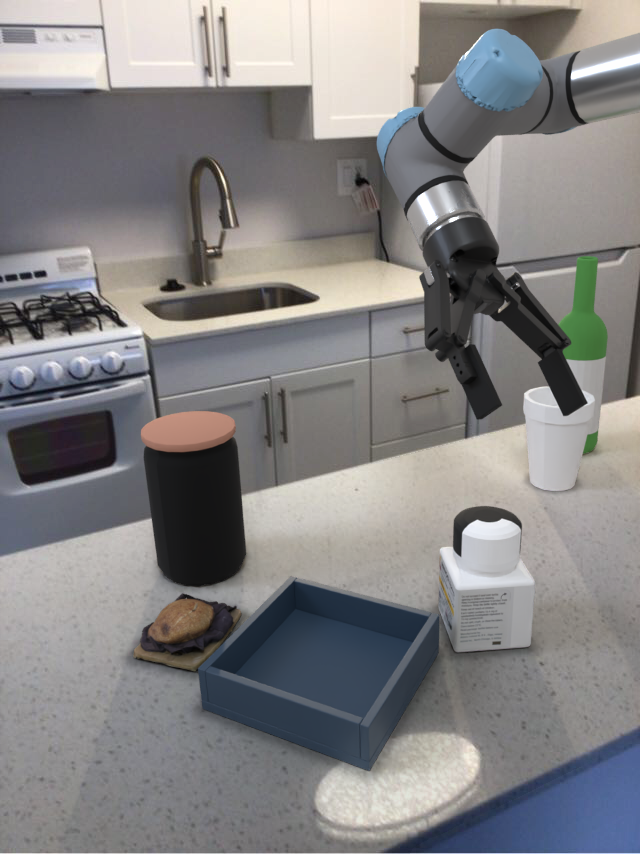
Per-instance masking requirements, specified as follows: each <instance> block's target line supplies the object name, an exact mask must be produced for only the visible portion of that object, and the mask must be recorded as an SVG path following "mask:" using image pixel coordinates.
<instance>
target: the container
mask: <svg viewBox="0 0 640 854" xmlns="http://www.w3.org/2000/svg"><path fill="white" fill-rule="evenodd" d="M521 521H522V520H521V519H519V517H518V516H517V515H516V514H515V513H513V512H511V511H510V510H507V509H504V508H501V507H497V506H490V505H477V506H472V507H468V508H467V507H466V508H464V509H463V510H461V511H460V512H458V513H457V515H455V517H454V518H453V526H452V529H453V531H452V546H442V547H441V548H440V549H439V560H438V561H439V565H438V568H439V569H438V612H439V613H440V614H439V615H440V617H441V619H442V622H443V624H444V627H445V630H446V633H447V634H448V638H449V640H450V643H451V646H452V649H453V651H454V652H455V653H467V652H468V653H470V652H482V651H494V650H509V649H522V648H523V649H524V648H529V647H530V646H531V644H532V634H533V621H534V609H535V608H534V605H535V596H536V595H535V593H536V592H535V591H536V581H535V578H534V577H533V575H532V574H531V572H530V571H529V569H528V567H527V566H526V564H525V562H524V561H523V559H522V557H521V551H522V550H521V549H522V548H521V547H522V533H523V523H522V522H521Z"/></svg>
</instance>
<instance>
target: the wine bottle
mask: <svg viewBox="0 0 640 854" xmlns="http://www.w3.org/2000/svg"><path fill="white" fill-rule="evenodd" d="M598 266H599V258H598V257H597V256H592V255H585V256H584V255H583V256H578V257H577V258H576V266H575V279H574V290H573V301H572V309H571V311H570V312H569V313H567V314H566V315H565V316H563V318H562V319H561V320H560V321H559V323H557V324H558V325H559V326H560V328H561V329H562V330H563V331H564V332H565V334H566V335H567V336H568V337H569V339H570V340H571V345H570V346H568V347H567V348H565V349H564V350H563V354H564V356H565V358H566V360H567V362H568V364H569V366H570V368H571V370H572V372H573V374H574V376H575V378H576V380H577V382H578V384H579V386H580V388H581V390H583V391H586V392H588V393H590V394H591V395H593V396H594V399H595V406H594V416H593V417H592V418H591V422H590V426H589V430H588V434H587V438H586V442H585V446H584V450H583V454H582V455H585V454H588V453H591V452H593V451H594V450H595V449H596V446H597V444H598V439H599V438H598V437H599V428H600V421H601V412H602V411H601V410H602V401H603V400H602V399H603V391H604V380H605V372H606V371H605V370H606V361H607V348H608V340H609V339H608V338H609V337H608V336H609V335H608V329H607V325H606V324H605V322H604V320H603V319H602V318H601V317H600V316H599V315H598V314H597V313H596V312H595V301H596V289H597V278H598Z"/></svg>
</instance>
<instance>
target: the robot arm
mask: <svg viewBox="0 0 640 854" xmlns="http://www.w3.org/2000/svg"><path fill="white" fill-rule="evenodd" d="M638 113H640V32H637V33H634V34H630V35H627V36H624V37H621V38H617V39H613V40H610V41H606V42H603V43H599V44H596V45H593V46H589V47H585V48H583V49H581V50H578V51H573V52H569V53H566V54H562V55H559V56H556V57H551V58H547V59H542V60H541V59H539V58H538V56H537V55H536V54H535V51H533V49H532V48H531V47H530V46H529V45H528V44H527V43H526V42H525V41H524V40H522V38H520V37H518V36H517V35H515V34H511V33H510V32H509V31H507V30H505V29H502V28H492V29H489V30H487V31H485V32H484V33H483V34H481V36H480V37H479V38H478V40H476V41H475V43H474V44H473V45H472V46H471V48H469V50H467V51H466V52H465V54H462V56H461V57H460V59H459V60H458V62H457V64H456V65H455V67H454V68H453V70H451V72H450V73H449V74H448V76H447V77H446V79H445V80H444V81H443V83H442V84H441V85H440V87H439V88H438V89H437V91H436V92H435V94H434V95H433V96H432V97H431V98H430V99H429V101H428V103H427V104H426V105H425V107H423V106H410V107H407V108H404V109H401V110H400V111H398V112H397V114H396V115H395V116H394V117H393V118H388V119H387V120H386V121H385V122H384V124H383V125H382V126H381V128H380V129H379V131H378V134H377V137H376V149H377V153H378V156H379V159H380V162H381V165H382V170H383V173H384V175H385V177H386V179H387V180H388V182H389V185H390V186H391V189H392V190H393V192H394V194H395V196H396V198H397V200H398V202H399V204H400V205H401V207H402V210H403V212H404V216H405V218H406V221H407V222H408V224H409V227H410V229H411V232H412V233H413V237H414V238H415V241H416V243H417V246H418V248H419V249H420V250H421V252H422V257H423V260H424V262H425V264H426V267H427V268H426V269H425V270H424V271H423V272H422V273H421V274H420V275H419V277H418V279H419V281H420V284H421V287H422V290H423V311H424V312H423V318H424V319H423V321H424V325H423V326H424V331H423V332H424V346H425V348H426V349H427V350H428V351H429V352H434V351H435V350H437V351H436V352H435V353H434V354H435V358H436V359H437V361H438V362H440V363H444V362H445V361H446V360H448V361H449V364H450V366H451V368H452V370H453V373H454V375H455V378H456V379H457V381H458V382H459V384H460V385H461V387H462V390H463V392H464V394H465V396H466V398H467V401H468V403H469V405H470V407H471V410H472V412H473V415H474V417H475V419H476V420H483V419H485V418H486V417H488V416H489V415H491V414H492V413H494V412H495V411H497V410H498V409H500V408H501V407H502V406H503V403H502V402H501V398H500V396H499V394H498V392H497V390H496V388H495V386H494V383H493V381H492V379H491V377H490V374H489V372H488V370H487V367H486V365H485V364H484V361H483V359H482V357H481V355H480V352H479V350H478V348H477V346H476V344H474V343H473V344H472V343H471V344H470V343H469V344H468V345H467V346H465V345H466V344H467V343H468V339H469V335H470V330H471V326H472V322H473V317H474V315H477V314H482V315H485V316H489V318H491V320H493V321H495V322H501V323H503V324H504V325H505V326H506V327H507V328H508V330H510V331H511V332H512V333H513V334H514V335H515V336H516V337H517V338H519V340H521V341H522V342H523V344H525V345H526V346H527V347H528V348H529V349H531V351H532V352H534V354H535V355H537V356H538V357H539V358H540V360H539V361H537V364H538V366H539V369H540V371H541V373H542V376H543V377H544V380H545V381H546V383H547V385H548V386H549V387H550V389H551V391H552V394H553V396H554V398H555V400H556V402H557V404H558V406H559V408H560V410H561V412H562V414H563V416H568V415H570V414H572V413H573V412H575V411H576V410H578V409H580V408H581V407H583V406H584V405H586V404H588V402H587V400H586V398H585V396H584V394H583V392H582V390H581V388H580V386H579V384H578V382H577V380H576V378H575V376H574V374H573V372H572V370H571V368H570V366H569V364H568V362H567V360H566V358H565V356H564V354H563V350H564V349H565V348H567V347H568V346H570V345H571V340H570V339H569V337H568V336H567V335H566V334H565V332H564V331H563V330H562V329H561V328H560V326H559V325H558V324H559V323H557V322H556V320H555V319H554V318H553V317H552V315H551V314H550V313H549V312H548V311H547V309H546V308H545V307H544V306H543V304H541V302H540V301H539V300H538V299H537V297H536V296H535V295H534V294H533V292H531V290H530V289H529V287H528V286H527V284H526V282H525V280H524V278H523V277H522V275H521V274H520V273H519V272H513V273H512V274H511V275H510V276H508V277H505V276H504V275H503V274H502V273H501V271H500V270H499V268H498V267H497V262H498V258H499V255H500V245H499V243H498V241H497V239H496V237H495V235H494V233H493V231H492V229H491V227H490V225H489V223H488V222H487V220H486V215H485V213H484V212H483V210H482V208H481V206H480V204H479V201H478V200H477V198H476V196H475V194H474V193H473V190H472V189H471V187H470V185H469V182H468V180H467V178H466V175H465V173H464V171H465V170H466V168H468V166H469V165H470V164H471V163H472V162H473V161H474V160H476V158H477V157H478V156H479V154H480V153H481V152H482V151H483V150H484V149H485V148H486V147H487V146H488V144H490V142H491V141H492V140H493V139H494V138H495V137H497V136H498V137H499V136H501V137H503V136H517V135H518V136H522V135H536V134H537V135H538V134H540V135H545V136H547V135H550V136H551V135H557V134H563V133H566V132H569V131H571V130H574V129H576V128H577V127H581V126H585V125H588V124H589V125H590V124H593V123H597V122H602V121H607V120H612V119H617V118H620V117H625V116H630V115H635V114H638Z"/></svg>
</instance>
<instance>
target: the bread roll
mask: <svg viewBox="0 0 640 854" xmlns="http://www.w3.org/2000/svg"><path fill="white" fill-rule="evenodd" d="M241 616H242V611H241V609H239V608H238V606H237V605H234V606H231V605H228V604H227V603H225V602H220V603H218V601H216V600H214V601H207V600H205V599H202V598H198V597H194V596H192V595H190V594H187V593H181V594H180V595H179V596H177V598H176V599H175V600H174V601H172V602H170V603H169V604H168V603H167V604H166V606H164V607H163V609H162V610H161V611H160V612H159V614H158V615H157V617H156V619H155V620H154V621H153V622H151V623H149V624H148V625H146V626H144V627H143V629H142V630H141V632H142V633H141V637H140V641H139V642H140V643H139V644H138V646H136V647H135V648H134V649H133V654H132V655H133V658H134V659H137V660H139V659H142V660H144V661H150V662H153V663H154V662H155V663H160V664H163V665H166V666H169V667H173V668H180V669H183V670H188V671H191V672H192V671H193V672H196V671H197V670H198V668H199V667H200V666H201V665H202V664H203V663H204V662H205V661H206V660H207V659H208V658H209V657H210V656H211V655H212V654H213V653H214V652H215V651H216V650H217V649H218V648H219V647H220V646H221V645H222V644H223V643H224V642H225V641H226V640H227V639H228V636H229V635H230V633H231V632H232V633H233V629H234V628H235V626H236V624H237V623H238V621H240V618H241Z"/></svg>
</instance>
